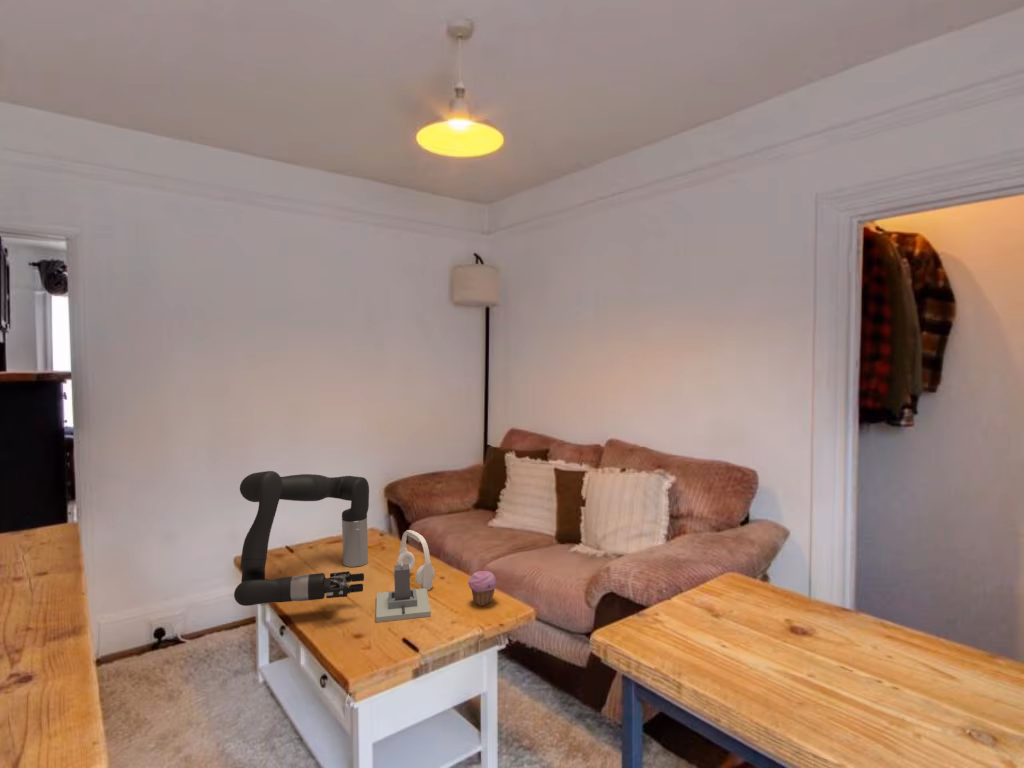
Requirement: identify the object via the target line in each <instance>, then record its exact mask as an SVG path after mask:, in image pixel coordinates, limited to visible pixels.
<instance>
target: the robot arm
mask: <svg viewBox="0 0 1024 768" xmlns="http://www.w3.org/2000/svg"><path fill="white" fill-rule="evenodd" d="M239 492H240V494H241V497H242V498H244V499H245V500H247V501H248V502H252V503H258V509H257V513H256V516H255V519H254V520H253V523H252V524H251V526H250V528H249V530H248V532H247V533H246V536H245V538H244V541H243V545H242V551H241V558H240V569H241V581H240V583H239V584H238V585H237V586H236V588H235V589H234V593H233V598H234V601H235V602H236V603H237V604H239V605H240V606H245V607H248V606H249V607H250V606H254V605H255V606H256V605H260V604H261V605H262V604H267V603H288V602H306V601H317V600H323V599H325V598H326V599H334V598H335V599H336V598H346V597H348V595H349V594H351V593H361V592H363V591H364V584H363V583H355V582H364V581H365V574H364V573H363V572H361V573H352V572H350V571H349V570H348V571H339V572H332V573H329V577H326V574H325V573H324V572H320V573H309V574H307V573H306V574H300V575H294V576H286V577H283V576H282V577H277V578H271V579H266V564H267V559H268V558H267V557H268V551H269V550H268V547H269V542H270V535H271V530H272V528H273V523H274V521H275V517H276V512H277V509H278V505H279V503H280V500H283V501H294V502H295V501H296V502H319V501H321V500H324V499H327V498H333V499H339V500H343V501H349V502H350V508H348V509H345V510H343V511H342V512H341V528H342V529H341V530H342V531H341V532H342V533H341V534H342V536H341V537H342V564H343V566H345V567H349V568H356V567H361V566H364V565H366V564H367V563H368V562H369V543H368V541H369V540H368V536H369V535H368V511H369V507H370V504H369V503H370V501H369V500H370V485H369V481H368V480H367V478H365V477H363V476H353V475H342V476H335V477H329V476H326V475H322V474H312V473H311V474H308V473H306V474H305V473H304V474H303V473H302V474H301V473H300V474H294V475H284V476H280V474H279V473H278V472H276V471H274V470H266V471H260V472H253V473H250V474H248V475H247V476H246V477H244V478H243V479H242V480H241V483H240V486H239ZM350 583H354V584H350Z"/></svg>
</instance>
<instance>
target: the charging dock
mask: <svg viewBox="0 0 1024 768" xmlns="http://www.w3.org/2000/svg"><path fill="white" fill-rule="evenodd" d="M375 604H376V611H375V616H376V617H375V621H376V623H383V622H391V621H401V620H408V619H418V618H427V617H431V615H432V610H431V605H430V600H429V596H428V590H427V589H426V588H423V587H422V588H410V599H407V600H397V601H395V590H390V591H384V592H376V603H375Z"/></svg>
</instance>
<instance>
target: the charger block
mask: <svg viewBox="0 0 1024 768" xmlns="http://www.w3.org/2000/svg"><path fill="white" fill-rule="evenodd" d="M393 567H394V571H393V572H394V573H393V574H394V575H393V576H394V578H393V579H394V591H395V601H397V600H407V599H410V589H411V579H410V578H411V575H410V574H411V573H410V572H411V571H410V568H409V564H405V565H403V562H402V561H401V565H397V564H395V565H394V566H393Z"/></svg>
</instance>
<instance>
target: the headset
mask: <svg viewBox="0 0 1024 768" xmlns="http://www.w3.org/2000/svg"><path fill="white" fill-rule="evenodd" d="M407 537H409V538H411V539H414V540H415V541H416V542H418V543H421V546H422V550H423V555H424V556H423V557H424V564H422V565H420V566H419V567H418V569H417V571H416V573H415V579H416V583H417V584H418V585H419V586H421V587H422V588H426V589H427V591H430V589H432V587H433V580H434V578H435V568H434V567H433V564H432V562H431V556H430V550H429V546H428V543H427V540H426V539H425V538H424V536H423V535H421V534H420V533H419V532H417V531H414V530H412V529H411V530H410V529H409V530H408V529H407V530H406V531H404V532H403V534H402V538H401V543H400V547H399V550H398V551H399V552H398V557H397V560H396V565H401V561H402V562H403V565H405V564H409V568H410V572H411V571H412V570H413V568H414V567H415V564H416V559H415V556H414V554H413V553H412V552H410V551H408V548H407V539H408V538H407Z"/></svg>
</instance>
